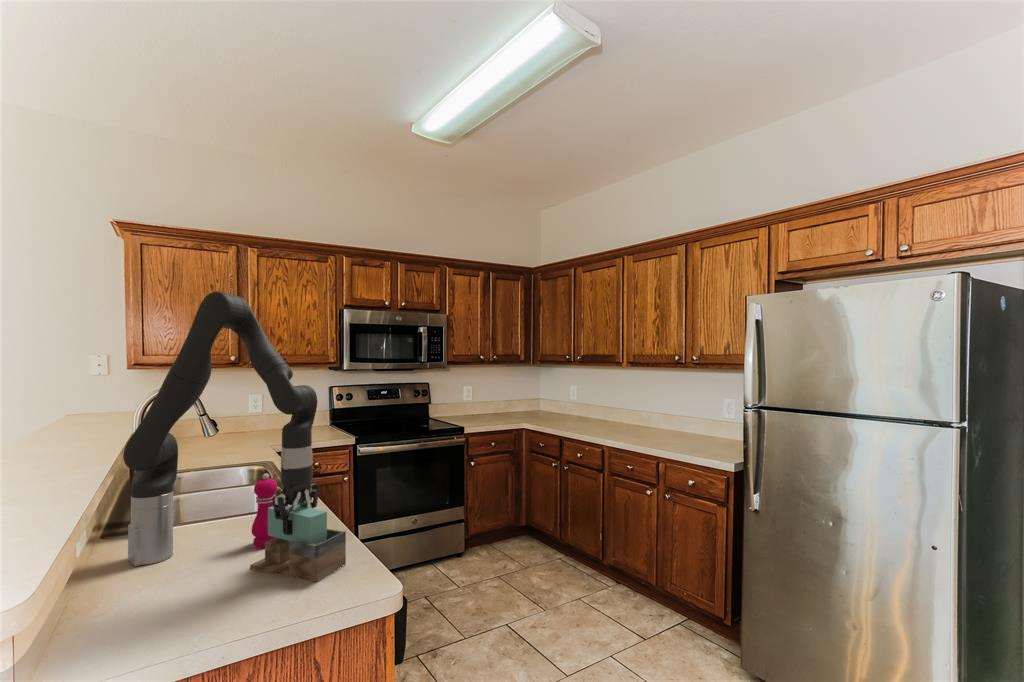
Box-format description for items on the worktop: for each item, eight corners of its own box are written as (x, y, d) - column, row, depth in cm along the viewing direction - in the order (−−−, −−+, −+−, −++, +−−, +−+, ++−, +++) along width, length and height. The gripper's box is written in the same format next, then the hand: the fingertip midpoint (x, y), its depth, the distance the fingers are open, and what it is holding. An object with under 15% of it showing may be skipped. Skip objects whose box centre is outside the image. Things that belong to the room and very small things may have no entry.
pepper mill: (284, 539, 148) (284, 470, 148) (270, 549, 141) (270, 476, 141) (261, 538, 149) (261, 470, 149) (245, 548, 141) (246, 476, 142)
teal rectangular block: (267, 535, 131) (267, 508, 131) (284, 529, 136) (284, 502, 136) (310, 546, 124) (310, 517, 124) (326, 539, 128) (326, 511, 128)
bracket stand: (250, 568, 128) (250, 534, 128) (281, 553, 138) (281, 522, 138) (317, 582, 121) (317, 546, 121) (345, 564, 130) (345, 531, 130)
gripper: (305, 457, 138) (305, 519, 138) (262, 469, 125) (262, 538, 124) (328, 459, 135) (328, 523, 135) (286, 471, 122) (286, 542, 122)
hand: (296, 530), depth 130 cm, fingers closed on teal rectangular block, 5 cm apart
